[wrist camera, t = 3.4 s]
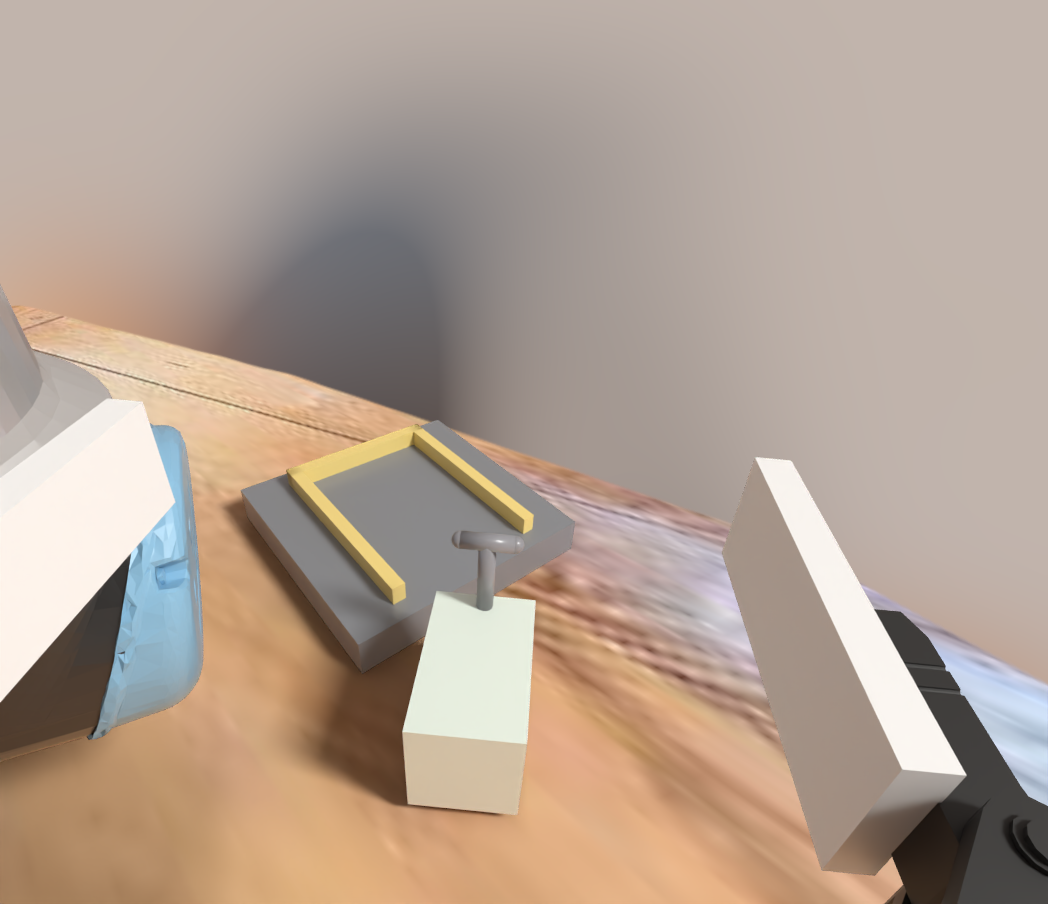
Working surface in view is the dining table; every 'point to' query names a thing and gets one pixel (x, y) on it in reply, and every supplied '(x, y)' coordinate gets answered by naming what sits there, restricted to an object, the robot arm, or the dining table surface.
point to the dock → (398, 532)
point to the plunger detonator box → (472, 693)
